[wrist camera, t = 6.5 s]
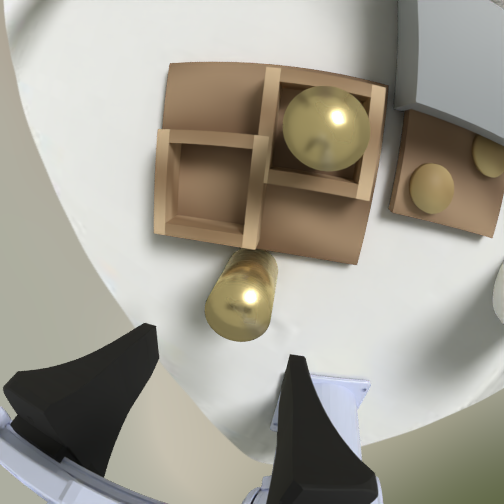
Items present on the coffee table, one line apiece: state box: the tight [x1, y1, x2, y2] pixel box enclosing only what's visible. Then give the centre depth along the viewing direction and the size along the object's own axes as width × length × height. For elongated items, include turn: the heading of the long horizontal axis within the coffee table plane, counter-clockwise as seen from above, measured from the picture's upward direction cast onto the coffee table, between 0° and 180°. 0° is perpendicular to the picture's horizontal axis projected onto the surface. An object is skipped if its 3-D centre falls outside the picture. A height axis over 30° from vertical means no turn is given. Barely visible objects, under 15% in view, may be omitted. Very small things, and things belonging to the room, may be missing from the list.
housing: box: [393, 0, 504, 146], centre depth 11 cm, size 10×11×4 cm
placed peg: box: [283, 86, 370, 171], centre depth 13 cm, size 4×4×6 cm
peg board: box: [154, 62, 389, 265], centre depth 17 cm, size 12×14×3 cm
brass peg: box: [205, 248, 278, 342], centre depth 18 cm, size 4×4×6 cm
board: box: [389, 109, 504, 238], centre depth 15 cm, size 8×9×2 cm
